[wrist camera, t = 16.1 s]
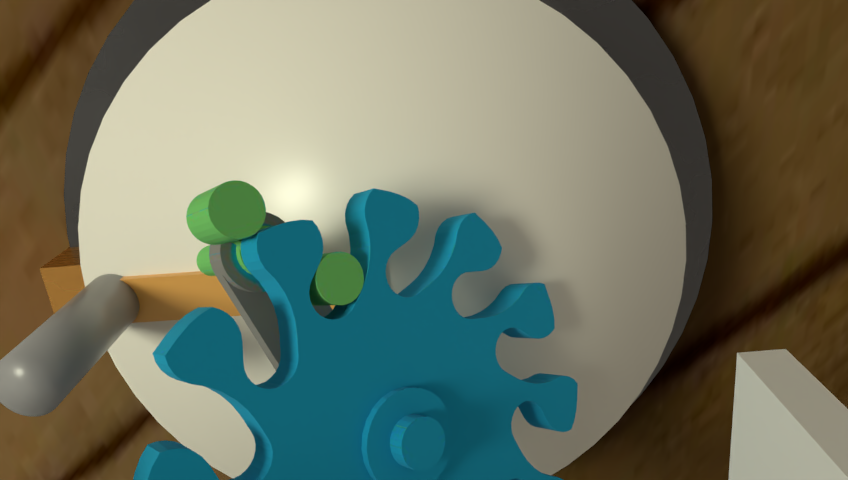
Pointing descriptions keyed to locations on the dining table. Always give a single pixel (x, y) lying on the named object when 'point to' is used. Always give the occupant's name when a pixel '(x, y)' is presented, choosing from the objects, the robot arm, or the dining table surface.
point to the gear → (358, 349)
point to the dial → (381, 169)
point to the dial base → (581, 3)
